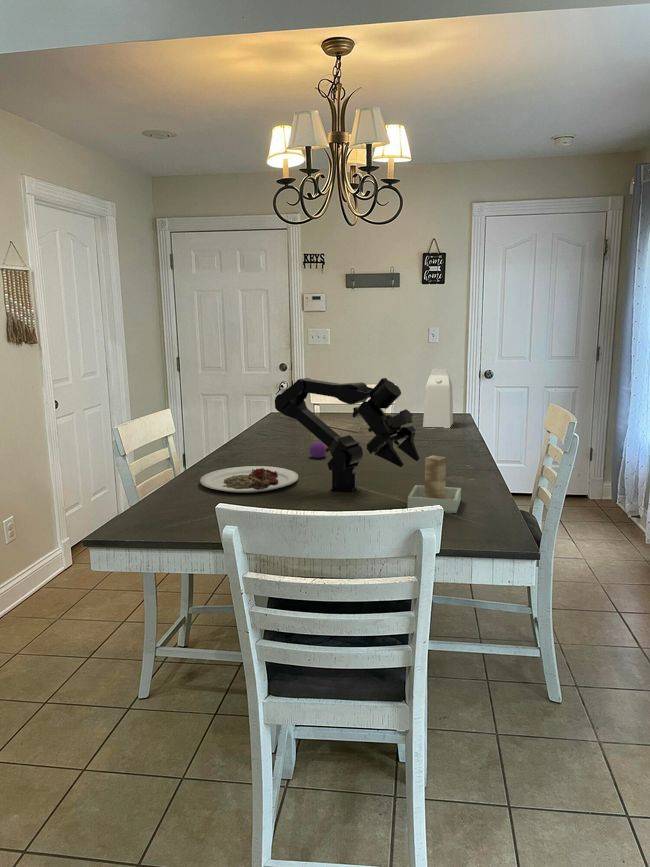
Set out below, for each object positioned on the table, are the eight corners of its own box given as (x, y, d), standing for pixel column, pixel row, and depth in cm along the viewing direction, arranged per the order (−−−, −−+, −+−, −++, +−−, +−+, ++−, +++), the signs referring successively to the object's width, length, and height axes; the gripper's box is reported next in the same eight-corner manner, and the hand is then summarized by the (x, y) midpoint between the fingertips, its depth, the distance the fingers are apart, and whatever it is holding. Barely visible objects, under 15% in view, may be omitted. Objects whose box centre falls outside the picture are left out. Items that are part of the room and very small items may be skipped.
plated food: (186, 495, 189) (185, 484, 188) (217, 470, 218) (216, 460, 217) (288, 498, 185) (288, 486, 184) (305, 472, 214) (305, 462, 213)
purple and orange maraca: (337, 438, 250) (325, 444, 230) (334, 453, 251) (322, 461, 231) (322, 435, 251) (309, 441, 232) (319, 450, 252) (306, 457, 233)
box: (407, 510, 171) (407, 497, 171) (414, 497, 183) (415, 485, 183) (456, 513, 168) (456, 500, 167) (460, 500, 180) (460, 488, 179)
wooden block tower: (416, 503, 175) (417, 458, 173) (430, 497, 180) (431, 453, 178) (439, 508, 171) (440, 461, 168) (452, 502, 176) (453, 457, 174)
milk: (452, 424, 300) (454, 368, 295) (449, 429, 289) (451, 370, 284) (426, 423, 304) (427, 367, 299) (422, 427, 293) (423, 370, 288)
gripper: (377, 404, 171) (413, 450, 166) (410, 397, 186) (445, 439, 181) (351, 430, 177) (386, 476, 172) (386, 422, 192) (418, 463, 187)
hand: (410, 463), depth 178 cm, fingers open, 9 cm apart
